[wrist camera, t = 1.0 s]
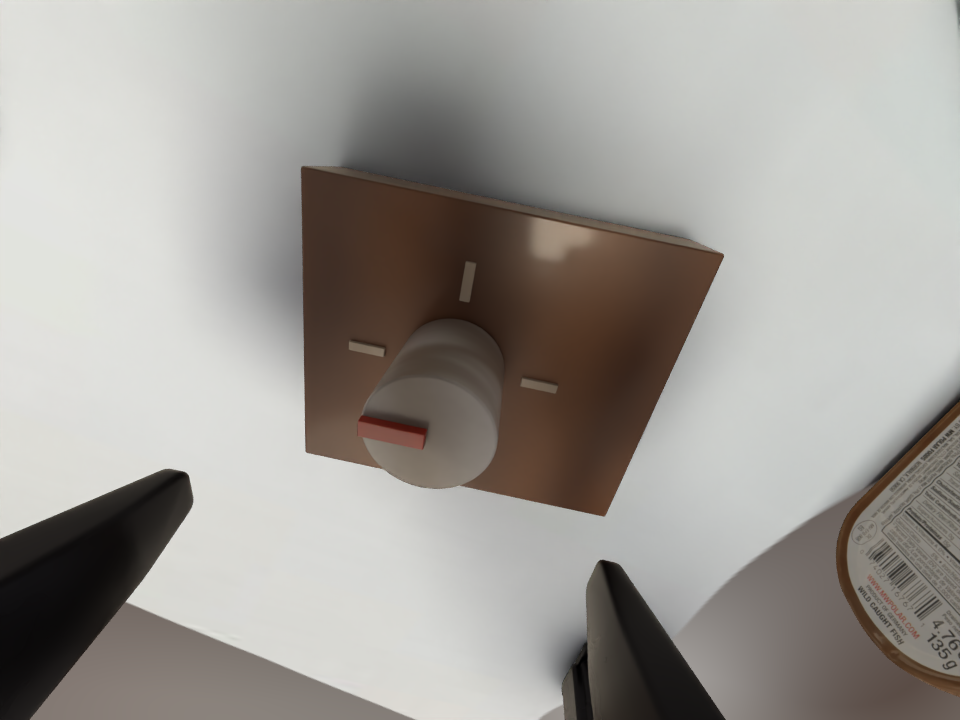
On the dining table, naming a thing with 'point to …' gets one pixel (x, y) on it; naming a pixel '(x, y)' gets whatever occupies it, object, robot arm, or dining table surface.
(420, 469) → the rotary dial knob
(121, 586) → the robot arm
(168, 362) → the dining table surface
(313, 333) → the dial base block
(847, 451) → the dining table surface
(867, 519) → the tin
